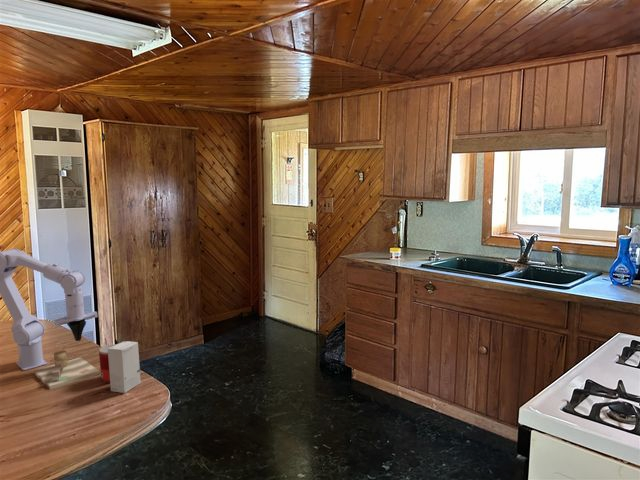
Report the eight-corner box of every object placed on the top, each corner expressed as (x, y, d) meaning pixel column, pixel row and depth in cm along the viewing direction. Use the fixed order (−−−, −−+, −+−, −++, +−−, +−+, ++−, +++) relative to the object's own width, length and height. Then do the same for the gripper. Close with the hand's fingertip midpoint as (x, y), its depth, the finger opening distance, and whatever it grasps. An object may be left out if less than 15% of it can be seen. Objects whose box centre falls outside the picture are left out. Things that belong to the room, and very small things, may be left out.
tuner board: (33, 373, 167) (33, 370, 167) (80, 360, 179) (80, 357, 178) (50, 389, 155) (49, 385, 155) (99, 374, 166) (99, 370, 166)
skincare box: (124, 394, 151) (121, 350, 149) (109, 391, 153) (106, 348, 151) (141, 382, 159) (139, 341, 157) (127, 380, 161) (124, 339, 159)
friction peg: (56, 364, 171) (54, 351, 170) (68, 362, 173) (67, 349, 172) (49, 381, 157) (48, 367, 156) (62, 379, 159) (61, 365, 158)
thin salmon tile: (83, 373, 164) (83, 373, 164) (79, 372, 165) (79, 372, 165) (90, 370, 167) (90, 369, 167) (86, 369, 168) (86, 369, 168)
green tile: (49, 382, 157) (49, 382, 157) (50, 378, 160) (50, 378, 160) (66, 379, 159) (66, 379, 159) (67, 376, 162) (67, 375, 162)
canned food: (116, 384, 159) (114, 353, 157) (96, 382, 160) (93, 351, 159) (130, 374, 166) (128, 345, 164) (110, 372, 168) (108, 343, 166)
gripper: (56, 311, 162) (60, 348, 164) (99, 302, 173) (102, 337, 175) (50, 307, 167) (53, 343, 169) (92, 299, 178) (94, 333, 180)
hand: (77, 340), depth 172 cm, fingers closed
